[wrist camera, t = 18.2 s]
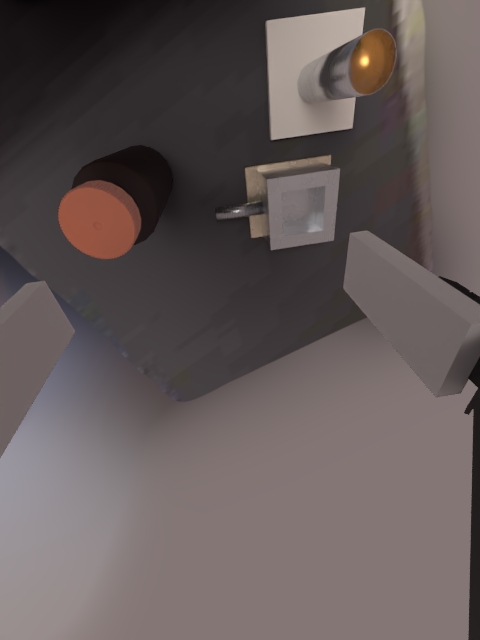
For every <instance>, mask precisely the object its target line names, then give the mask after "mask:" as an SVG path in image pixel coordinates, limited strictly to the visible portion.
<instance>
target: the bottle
mask: <svg viewBox="0 0 480 640" xmlns="http://www.w3.org/2000/svg"><path fill="white" fill-rule="evenodd" d="M172 181H173V179H172V174H171V169H170V167H169V165H168V163H167V161H166V160H165V159H164V158H163V157H162V156H161V155H160V153H158V152H157V151H155V150H153V149H152V148H150V147H146V146H142V145H139V146H131V147H129V148H126V149H124V150H121V151H118V152H116V153H113V154H110V155H108V156H105V157H103V158H100V159H97V160H95V161H93V162H91V163H89V164H87V165H85V166H84V167H82V169H81V170H80V171H79V173H78V174H77V175H76V176H75V178H74V181H73V185H72V189H71V190H70V191H69V192H67V194H65V196H64V197H63V199H61V200H62V201H61V202H60V203H61V204H60V205H59V206H60V207H59V208H58V209H59V211H58V212H59V214H58V215H59V217H58V219H59V222H60V224H59V225H61V227H60V228H62V231H63V232H64V234H65V236H66V237H67V238H68V240H69V241H70V243H72V244H73V245H74V246H75V248H78V250H81V252H83V253H86V254H87V255H90V256H93V258H94V257H96V258H99V259H100V258H102V259H110V258H111V259H113V258H116V257H117V258H118V257H119V256H120V257H121V255H124V254H126V252H128V250H130V248H131V247H132V246H133V245H136V244H138V243H140V242H142V241H144V240H146V239H147V238H148V237H149V236H150V235H151V234H152V233H153V232H154V230H155V227H156V225H157V223H158V220H159V218H160V216H161V213H162V211H163V208H164V206H165V204H166V201H167V199H168V196H169V194H170V192H171V189H172Z"/></svg>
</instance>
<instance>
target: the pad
mask: <svg viewBox="0 0 480 640" xmlns="http://www.w3.org/2000/svg"><path fill="white" fill-rule="evenodd" d="M364 13H365V8H357V9H350V10H342V11H335V12H328V13H320V14H313V15H305V16H298V17H290V18H283V19H275V20H268V21H266V22H265V34H266V58H267V81H268V105H269V129H270V140H276V139H283V138H290V137H296V136H303V135H310V134H317V133H324V132H331V131H338V130H344V129H351V128H352V127H353V118H354V108H355V99H356V97H352V98H346V99H339V100H332V101H325V102H319V103H306V102H305V101H303V100H302V98H301V97H300V95H299V93H298V86H297V84H298V78H299V75H300V72H301V70H302V69H303V68H304V66H305V65H306V64H308V63H309V62H311V61H313V60H315V59H317V58H319V57H321V56H323V55H324V54H326V53H328V52H330V51H332V50H334V49H336V48H338V47H340V46H341V45H343V44H345V43H347V42H349V41H351V40H353V39H355V38H357V37H358V36H360V35H362V32H363V22H364Z"/></svg>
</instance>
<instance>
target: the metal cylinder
mask: <svg viewBox="0 0 480 640" xmlns="http://www.w3.org/2000/svg"><path fill="white" fill-rule="evenodd" d="M396 55H397V51H396V44H395V40H394V38H393V36H392V35H391V34H390V33H389V32H388V31H387V30H385V29H381V28H376V29H372V30H370V31H368V32H366V33H364V34H362V35H360V36H358V37H357V38H355V39H353V40H351V41H349V42H347V43H345V44H343V45H341V46H340V47H338V48H336V49H334V50H332V51H330V52H328V53H326V54H324V55H323V56H321V57H319V58H317V59H315V60H313V61H311V62H309V63H308V64H306V65H305V66H304V68H303V69H302V70H301V72H300V75H299V78H298V84H297V86H298V93H299V95H300V97H301V98H302V100H303V101H305V102H306V103H319V102H325V101H332V100H339V99H346V98H352V97H359V96H366V95H371V94H374V93H376V92H377V91H379V90H380V89H381V88H382V87H383V86H384V85H385V84H386V83H387V81H388V80H389V78H390V76H391V74H392V72H393V70H394V67H395V63H396Z"/></svg>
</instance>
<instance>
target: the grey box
mask: <svg viewBox="0 0 480 640" xmlns="http://www.w3.org/2000/svg"><path fill="white" fill-rule="evenodd" d="M244 173H245V183H246V194H247V203H245V204H238V205H231V206H225V207H218V208H215V212H216V218H217V221H222V220H228V219H235V218H241V217H248V216H249V226H250V236H251V238H255V237H262V236H263V237H264V239H265V241H266V242H267V244H268V246H269V248H270V250H276V249H282V248H289V247H295V246H302V245H308V244H314V243H321V242H327V241H334V232H335V221H336V210H337V199H338V187H339V176H340V168H337V167H334V166H331V155H329V154H328V155H321V156H314V157H307V158H301V159H294V160H287V161H280V162H273V163H267V164H260V165H253V166H246V167H244Z"/></svg>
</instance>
